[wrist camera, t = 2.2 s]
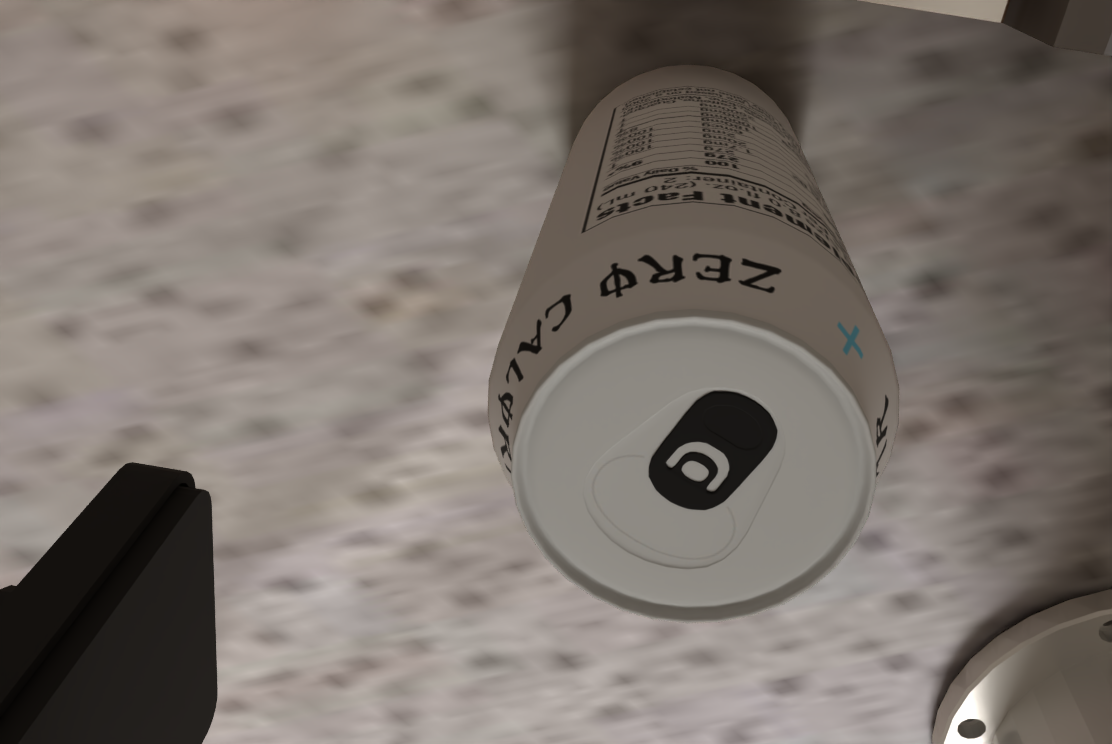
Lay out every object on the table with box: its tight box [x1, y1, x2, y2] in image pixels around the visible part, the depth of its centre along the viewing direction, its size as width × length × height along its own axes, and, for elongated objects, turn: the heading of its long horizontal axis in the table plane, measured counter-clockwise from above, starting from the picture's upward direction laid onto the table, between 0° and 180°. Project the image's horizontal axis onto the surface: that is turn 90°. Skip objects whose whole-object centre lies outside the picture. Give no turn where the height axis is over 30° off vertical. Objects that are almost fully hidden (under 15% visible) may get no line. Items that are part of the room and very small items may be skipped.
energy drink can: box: [488, 64, 899, 623], centre depth 20 cm, size 6×6×15 cm
